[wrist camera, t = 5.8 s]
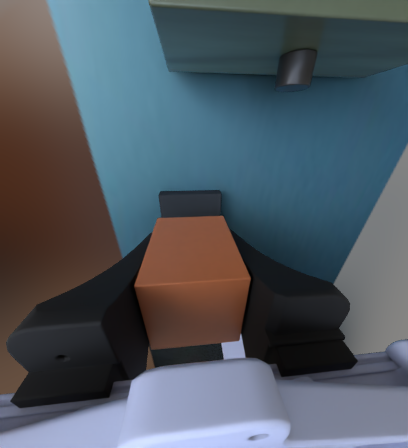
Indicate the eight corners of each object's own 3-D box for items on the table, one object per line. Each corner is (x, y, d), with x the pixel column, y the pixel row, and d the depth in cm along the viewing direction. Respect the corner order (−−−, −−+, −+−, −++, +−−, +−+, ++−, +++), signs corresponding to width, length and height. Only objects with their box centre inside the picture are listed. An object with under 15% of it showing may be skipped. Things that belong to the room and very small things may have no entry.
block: (220, 265, 13) (239, 341, 8) (164, 268, 13) (150, 350, 8) (223, 215, 11) (251, 278, 6) (157, 217, 11) (133, 286, 6)
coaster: (217, 238, 17) (218, 244, 16) (166, 241, 16) (165, 247, 16) (219, 189, 14) (221, 193, 14) (160, 191, 14) (158, 195, 13)
